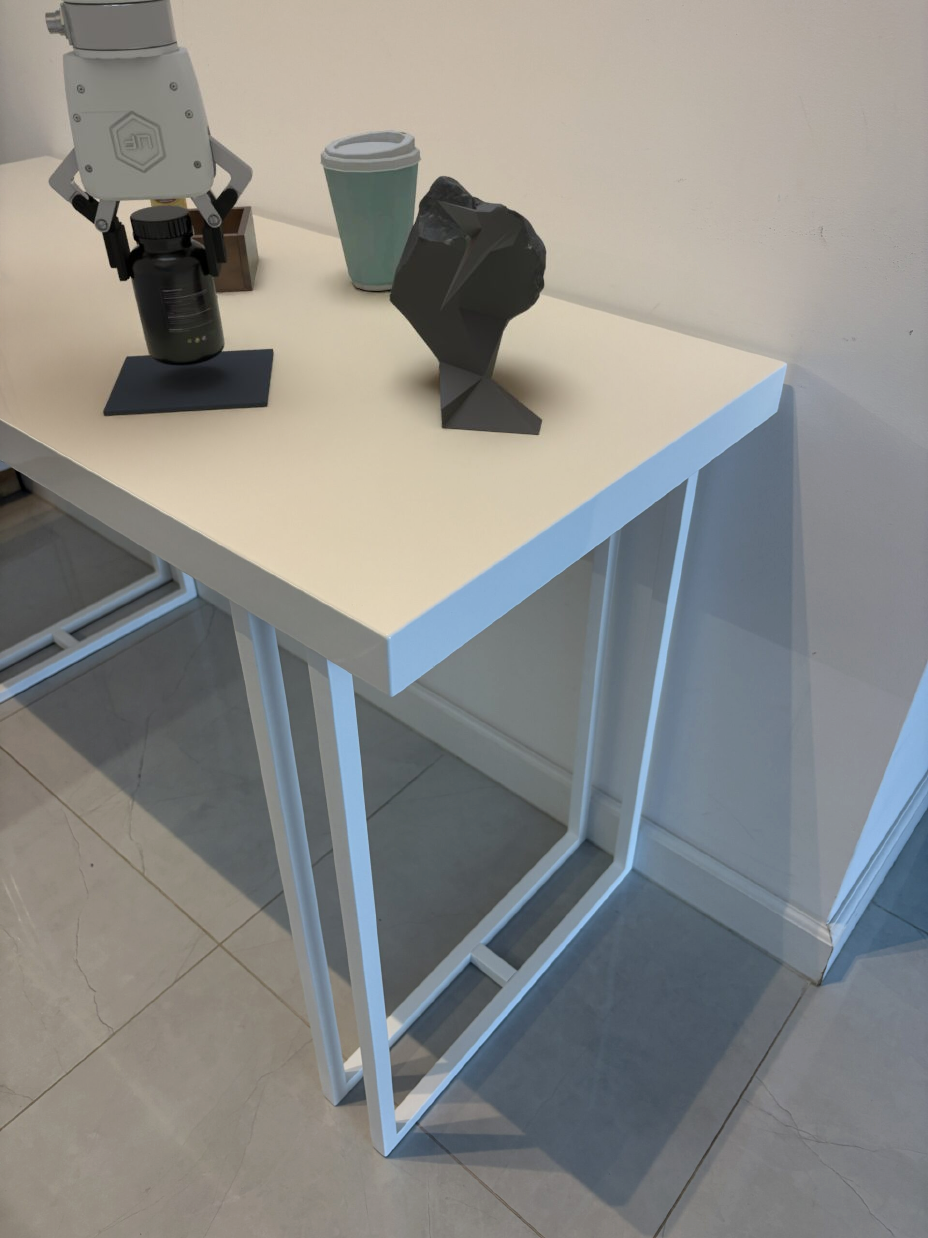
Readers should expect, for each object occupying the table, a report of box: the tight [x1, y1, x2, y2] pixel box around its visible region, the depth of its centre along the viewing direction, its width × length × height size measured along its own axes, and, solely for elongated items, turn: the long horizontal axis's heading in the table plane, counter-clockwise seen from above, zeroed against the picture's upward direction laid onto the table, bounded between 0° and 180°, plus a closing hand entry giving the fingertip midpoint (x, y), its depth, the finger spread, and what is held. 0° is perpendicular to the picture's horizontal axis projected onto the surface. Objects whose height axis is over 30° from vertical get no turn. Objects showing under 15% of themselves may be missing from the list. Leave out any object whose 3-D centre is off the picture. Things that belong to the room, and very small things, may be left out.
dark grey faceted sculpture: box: [389, 175, 547, 435], centre depth 79 cm, size 14×15×18 cm
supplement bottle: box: [128, 205, 226, 366], centre depth 81 cm, size 7×7×12 cm
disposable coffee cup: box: [320, 129, 422, 292], centre depth 102 cm, size 11×11×15 cm
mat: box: [102, 348, 274, 416], centre depth 86 cm, size 14×12×1 cm
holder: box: [135, 205, 260, 293], centre depth 107 cm, size 12×12×6 cm
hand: (171, 272), depth 80 cm, fingers closed on supplement bottle, 6 cm apart
